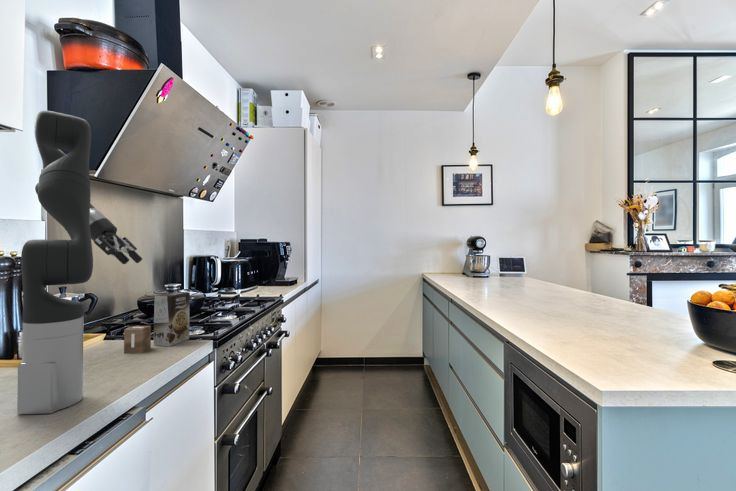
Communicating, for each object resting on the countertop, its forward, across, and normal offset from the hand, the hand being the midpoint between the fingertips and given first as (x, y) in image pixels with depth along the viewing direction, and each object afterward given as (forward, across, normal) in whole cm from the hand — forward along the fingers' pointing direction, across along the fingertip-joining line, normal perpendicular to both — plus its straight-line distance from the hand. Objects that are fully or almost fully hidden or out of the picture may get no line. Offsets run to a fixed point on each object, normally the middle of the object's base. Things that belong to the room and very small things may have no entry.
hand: (133, 261), depth 115 cm
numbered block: (+23, -9, +14) cm, 29 cm away
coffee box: (+28, 0, +10) cm, 29 cm away
